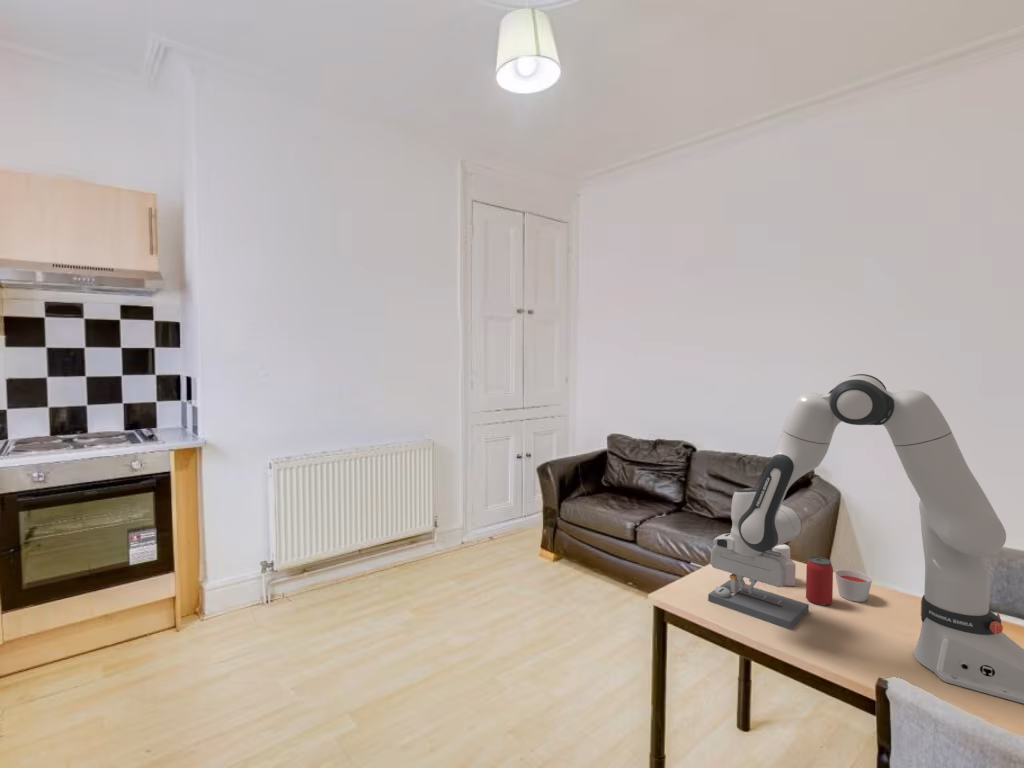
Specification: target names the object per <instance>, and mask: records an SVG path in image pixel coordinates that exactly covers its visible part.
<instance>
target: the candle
mask: <svg viewBox="0 0 1024 768" xmlns="http://www.w3.org/2000/svg"><path fill="white" fill-rule="evenodd" d="M834 574H835V578H836V579H835V580H836V584H837V591H838V595H839V596H840V597H842V598H843V599H845V600H847V601H851V602H857V603H862V602H863V603H864V602H866V601H867V600H868V597H869V595H870V590H871V587H872V583H873V578H872V577H871V576H870V575H868V574H866V573H865V572H861V571H858V570H851V569H837V570H836V571H835V572H834Z"/></svg>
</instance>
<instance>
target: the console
mask: <svg viewBox="0 0 1024 768" xmlns="http://www.w3.org/2000/svg"><path fill="white" fill-rule="evenodd" d="M707 595H708V596H707V601H708V602H711V603H713V604H716V605H719V606H721V607H723V608H728V609H731V610H733V611H737V612H739V613H741V614H745V615H748V616H750V617H753V618H756V619H758V620H759V619H760V620H762V621H765V622H767V623H771V624H773V625H776V626H779V627H782V628H785V629H786V630H787V629H788V630H792V628H793V627H794V626H795V625H797V624H798V623H799V622H800V621H801V619H802V618H803V617H805V616H806V614H807V613H809V610H810V609H809V608H810V607H809V603H806V602H802V601H799V600H797V599H793V598H790V597H786V596H783V595H779V594H776V593H773V592H770V591H767V590H763V589H762V588H761V589H760V588H758V587H754V586H753V592H752V593H751V594H750V593H747V592H744V591H741V590H740V584H739V590H738V591H737V592H735V593H733V592H731V579H729V580H726V582H725V583H724V582H723V584H721V585H720V586H716V587H715V588H714V589H713V590H712V591H710V592H709V593H708V594H707Z"/></svg>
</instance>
